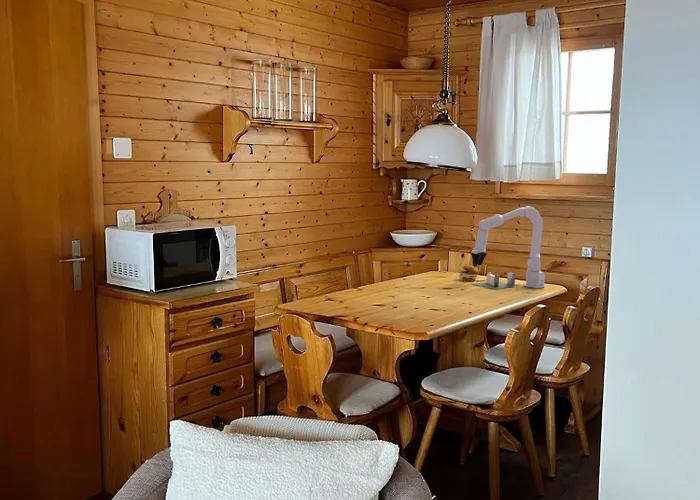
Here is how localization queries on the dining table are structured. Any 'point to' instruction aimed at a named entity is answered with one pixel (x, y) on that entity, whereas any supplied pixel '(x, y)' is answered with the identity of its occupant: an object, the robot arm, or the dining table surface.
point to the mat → (501, 286)
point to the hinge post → (496, 281)
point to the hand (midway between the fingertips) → (477, 265)
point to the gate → (490, 278)
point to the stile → (511, 279)
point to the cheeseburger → (468, 276)
